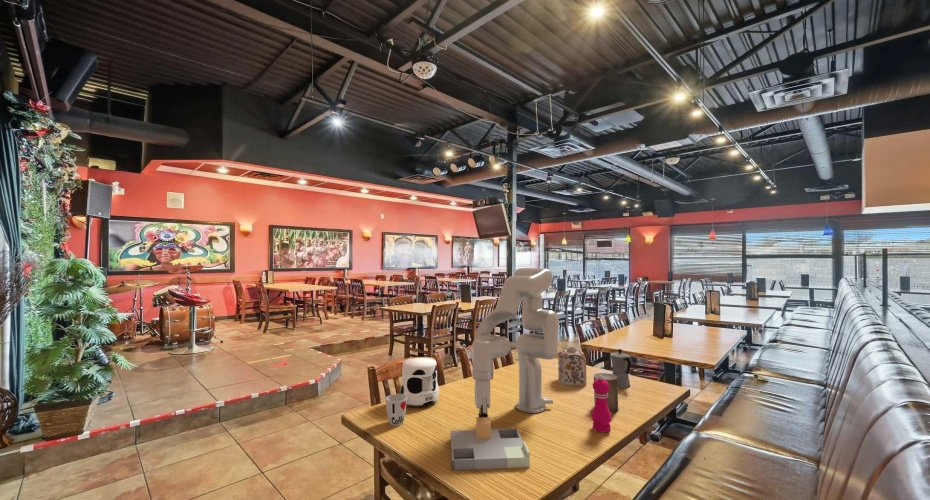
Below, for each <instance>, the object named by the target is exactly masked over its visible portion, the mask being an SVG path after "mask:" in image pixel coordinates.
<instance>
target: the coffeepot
mask: <svg viewBox="0 0 930 500" xmlns="http://www.w3.org/2000/svg"><path fill="white" fill-rule="evenodd" d="M617 350H618V352H611V353H610V361H611V366H612V373H611V374H613V375H616V376H617V383H618V389H619V388H621V389H627V388H630V387H631V383H630V376H629V374H630V370H631V364H632V361H631V359H630V358H631V356H630V354H627V353H624V352H622V351H623V350H622V349H621V348H619V349H617Z"/></svg>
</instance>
